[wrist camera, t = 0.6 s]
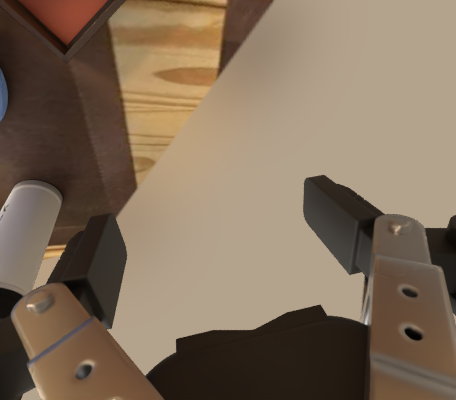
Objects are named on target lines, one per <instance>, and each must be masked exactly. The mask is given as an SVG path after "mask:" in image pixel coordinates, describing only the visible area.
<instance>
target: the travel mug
mask: <svg viewBox="0 0 456 400" xmlns="http://www.w3.org/2000/svg"><path fill="white" fill-rule="evenodd" d="M62 200H63V199H62V195H61V193H60V192H59V191H58V190H57V189H56V188H55V187H54V186H52V185H50V184H48V183H46V182H43V181H38V180H27V181H22V182H20V183H18V184H16V185H15V187H14V188H13V190H12V192H11V194H10V195H9V197H8V199H7V201H6V203H5V204H4V206H3V208H2V210H1V212H0V320H1V319H4V318H6V317H8V316H11V312H12V309H13V308H14V306H15V305H16V303H17V302H18V301H19V300H20V299H21V298H22V297H24V296H25V295H26V294H28V293H29V292H31V291H32V289H33V286H34V283H35V280H36V277H37V274H38V271H39V269H40V266H41V263H42V260H43V257H44V254H45V251H46V248H47V245H48V242H49V239H50V236H51V233H52V230H53V228H54V225H55V222H56V219H57V216H58V213H59V210H60V207H61V204H62Z"/></svg>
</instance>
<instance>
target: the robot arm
mask: <svg viewBox="0 0 456 400" xmlns="http://www.w3.org/2000/svg"><path fill="white" fill-rule="evenodd" d="M303 212H304V217H305V220H306V222H307V223H308V225H309V226H310V227H311V229H312V230H313V231H314V232H315V233H316V235H317V236H318V237H319V238H320V239H321V241H322V242H323V243H324V244H325V246H326V247H327V248H328V249H329V251H330V252H331V253H332V254H333V255H334V257H335V258H336V259H337V260H338V261H339V263H340V264H341V265H342V266H343V268H344V269H345V270H346V271H347V272H348V274H349V275H351V274H356V273H360V272H363V274H364V275H365V277H364V283H363V294H362V304H361V315H360V322H358V321H354V320H352V319H347V318H343V317H337V316H327V315H326V313H325V311H324V310H323V308H322V307H321V305H317V306H313V307H308V308H304V309H300V310H296V311H292V312H287V313H285V314H283V315H281V316H279V317H277V318H276V319H274V320H272V321H270V322H268V323H266V324H264V325H262V326H261V327H258V328H256V329H254V330H212V331H208V332H204V333H199V334H195V335H192V336H187V337H183V338H179V339H176V353H174V354H172V355H170V356H169V357H167V358H165V359H164V360H162V361H161V362H160V363H159V364H157V365H156V366H155V367H154V368H153V369H152V370H151V371H150V372H149V373H148V374H147V375H146V376H144V375H143V373H142V372H141V371H140V370H139V368H138V367H137V366H136V365H135V364H134V362H133V361H132V360H131V359H130V357H128V355H127V354H126V353H125V351H124V350H123V349H122V348H121V347H120V345H119V344H118V343H117V342H116V341H115V339H114V338H113V337H112V336H111V335H110V333H109V332H108V331H107V329H111V328H112V324H113V320H114V316H115V310H116V306H117V301H118V297H119V292H120V288H121V283H122V278H123V273H124V269H125V264H126V260H127V252H126V246H125V243H124V240H123V237H122V235H121V232H120V229H119V227H118V224H117V221H116V218H115V216H114V215H113V214H112V213H109V214H104V215H98V216H93V217H91V218H90V220H89V222H88V224H87V226H86V228H85V230H84V231H79V232H78V233H77V234H76V235H75V236H74V237H73V238H72V239H71V240H70V241H69V242H68V244H67V246H66V248H65V252H63V253H62V255H61V257H60V260H59V261H58V263H57V264H56V266H55V268H54V270H53V272H52V273H51V275H50V277H49V279H48V281H47V283H46V284H45V285H43V286H40V287H38V288H36V289H34V290H32V291H31V292H29V293H28V294H26V295H25V296H24V297H22V298H21V299H20V300H19V301H18V302H17V303H16V305H15V306H14V308H13V309H12V312H11V316H8V317H6V318H4V319H1V320H0V400H21V398H22V395H23V394H24V393H25V392H27V391H29V390H31V389H33V388H35V387H36V388H37V390H38V392H39V395H40V397H41V399H42V400H456V325H455V320H454V316H453V313H454V314H455V315H456V215H455V216H453V217H451V219H450V221H449V224H448V227H447V228H424V226H423V225H422V224H421V223H419V222H418V221H417V220H415V219H413V218H410V217H407V216H403V215H398V214H386V215H385V214H384V213H382V212H381V211H380V210H378V209H377V208H376V207H374V206H373V205H371V204H370V203H369V202H368V201H366V200H364V199H363V198H362V197H361V196H359V195H357V193H355V192H354V191H353V190H351V189H350V188H348V187H345V186H343V185H340V184H336V183H334V182H333V181H332V180H330V179H329V178H328V177H326V176H325V175H321V176H315V177H309V178H306V179H305V182H304V204H303Z"/></svg>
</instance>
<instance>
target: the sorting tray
mask: <svg viewBox="0 0 456 400" xmlns="http://www.w3.org/2000/svg"><path fill="white" fill-rule="evenodd" d="M125 1H126V0H0V6H1V7H2V8H3V9H4V10H5V11H6V12H7V13H9V14H10V15H11V16H12V17H13V18H14V19H15V20H17V21H18V22H19V23H20V24H21V25H22V26H23V27H25V28H26V29H27V30H28V31H29V32H30V33H32V34H33V35H34V36H35V37H36V38H37V39H38V40H40V41H41V42H42V43H43V44H44V45H45V46H46V47H48V48H49V49H50V50H51V51H52V52H53V53H54V54H56V55H57V56H58V57H59V58H60V59H61V60H62V61H64V62H65V63H66V64H67V63H68V62H69V61H70V60H71V59H72V57H73V56H74V55H75V54H76V53H77V52H78V51H79V50H80V49H81V48H82V47H83V46H84V45H85V44H86V43H87V41H88V40H89V39H90V38H91V37H92V36H93V35H94V34H95V33H96V32H97V31H98V30H99V29H100V28H101V27H102V26H103V24H104V23H105V22H106V21H107V20H108V19H109V18H110V17H111V16H112V15H113V14H114V13H115V12H116V11H117V10H118V8H119V7H120V6H121V5H122V4H123V3H124V2H125Z"/></svg>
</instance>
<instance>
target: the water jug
mask: <svg viewBox="0 0 456 400" xmlns="http://www.w3.org/2000/svg"><path fill="white" fill-rule="evenodd" d="M7 104H8V91H7V85H6V81H5V78H4V75H3V73H2V70H1V68H0V121H1V120H2V119H3V117H4V115H5V112H6V109H7Z"/></svg>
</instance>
